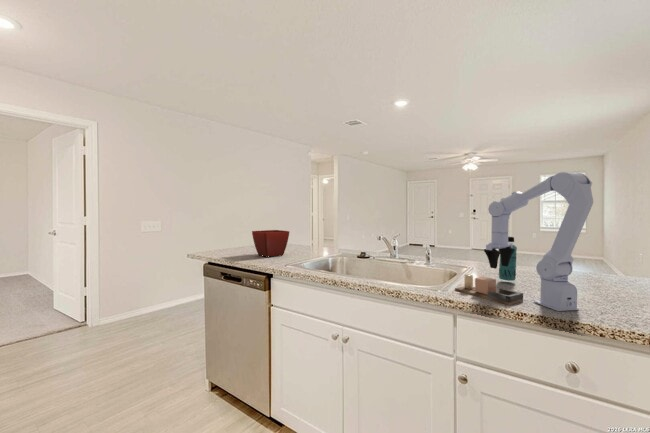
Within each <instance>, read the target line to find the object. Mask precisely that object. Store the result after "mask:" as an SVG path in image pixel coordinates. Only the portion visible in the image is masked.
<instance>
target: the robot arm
mask: <svg viewBox="0 0 650 433" xmlns="http://www.w3.org/2000/svg"><path fill="white" fill-rule="evenodd" d="M592 185H593V182H592V181H591V180H590V178H589V177H588V176H587V175H586V174H584V173H582V172H581V173H580V172H576V173H574V172H566V171H565V172H564V171H561V172H557V173H555V174H554V175H550V176H549V177H547V178H546V179H545V180H543V181H541V182H539V183H537V184H535V185H534V186H532V187H530V188H529V189H527V190H525V191H523V192H521V191H512V192H511V194H510V195H508V196H507V197H502V198H500V200H499V201H497V200H495V201H492V202H491V203H490V204H489V206H488V209H487V210H488V213H489V214H490V216H491V235H490V236H491V237H490V238H491V240H490V242H488V244H485V248H484V250H483V251H484V254H485V255H486V257H487V260H488V264H489V268H490V269H498V264H499V259H500V255H501V264H502V266H508V265H509V261H510V258H511V256H512V254H513V252H514V251H515V249H514V248H512V247H513V245H514V244H513V243H514V242H508V237H509V222H510V221H509V220H510V216H511V214H512V213H513V212H515V211H518V210H519V209H522V208H523V207H526V206H527V205H528V204H529V201H530V200H533V199H535V198H538V197H540V196H543V195H545V194H547V193H550V192H556V193H558V195H560V196H562V197H563V198H564V199H565V201H566V202H567V203H568V207H567V209H566V211H565V214H564V217H563V219H562V221H561V224H560V226H559V228H558V231H557V233H556V236H555V237H554V241H553V243H552V245H551V248H550V250H548V251H547V252H546V253H545V254H544V256H543V257H542V259H541V260H539V261H538V262H537V263H536V266H535V269H536V273H537V274H538V275H539V278H540V297H539V299H540V300H533V303H535V304H538V305H540V306H543V307H545V308H549V309H550V310H553V311H554V310H555V311H557V312H564V311H565V312H566V311H579V310H580V308H579V307H578V289H577V286H575V285H574V284H573V283H570V282H569V276H570V275H571V274H572V272H573V262H574V257H573V256H572V253H573V251H574V249H575V246H576V244H577V241H578V240H579V237H580V236H581V235H580V234H581V233H582V230H583V229H584V228H583V227H584V225H585V224H586V221H587V219H588V216H589V214H590V212H591V209H592V207H593V205H594V198H593V192H592Z"/></svg>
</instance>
